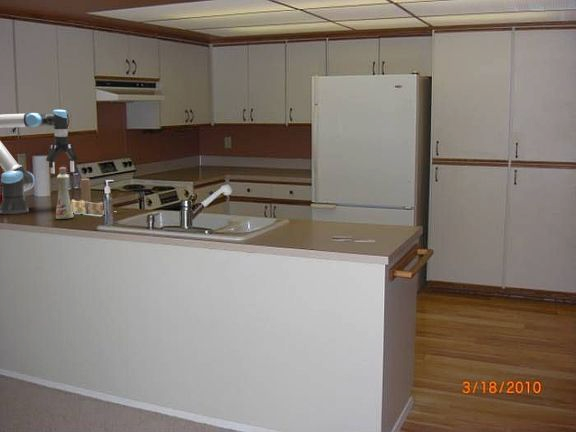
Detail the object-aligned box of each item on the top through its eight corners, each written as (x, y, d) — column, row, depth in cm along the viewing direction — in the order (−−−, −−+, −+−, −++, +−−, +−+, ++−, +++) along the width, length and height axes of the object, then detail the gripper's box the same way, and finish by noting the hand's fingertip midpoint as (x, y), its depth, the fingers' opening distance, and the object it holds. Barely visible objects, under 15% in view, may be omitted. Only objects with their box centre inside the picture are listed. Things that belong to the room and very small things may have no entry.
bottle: (73, 219, 372) (70, 167, 368) (55, 220, 369) (52, 167, 365) (73, 217, 380) (71, 165, 376) (56, 217, 377) (53, 166, 373)
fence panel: (87, 212, 391) (86, 200, 390) (85, 212, 390) (84, 200, 389) (73, 211, 397) (72, 199, 396) (71, 211, 396) (70, 199, 395)
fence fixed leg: (104, 215, 383) (104, 202, 382) (102, 216, 381) (101, 202, 380) (87, 214, 391) (87, 200, 390) (85, 214, 389) (84, 201, 388)
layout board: (100, 216, 380) (100, 216, 380) (67, 213, 395) (67, 212, 395) (124, 213, 394) (124, 212, 393) (91, 209, 409) (91, 208, 409)
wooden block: (74, 210, 409) (72, 179, 406) (75, 209, 413) (74, 178, 410) (90, 209, 410) (88, 179, 407) (91, 208, 414) (89, 178, 412)
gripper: (46, 137, 394) (48, 174, 397) (82, 136, 414) (84, 171, 417) (38, 136, 399) (40, 173, 402) (74, 135, 419) (76, 170, 422)
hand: (62, 172), depth 410 cm, fingers open, 13 cm apart
